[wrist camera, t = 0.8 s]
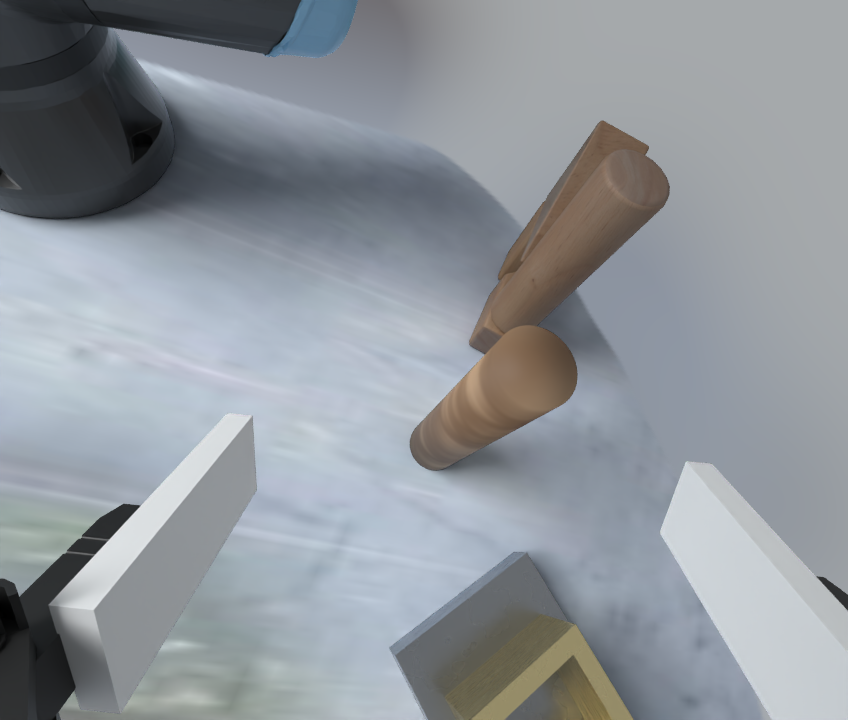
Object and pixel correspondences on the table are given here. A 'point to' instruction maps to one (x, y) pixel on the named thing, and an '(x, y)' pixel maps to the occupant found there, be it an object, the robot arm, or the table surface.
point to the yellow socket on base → (505, 655)
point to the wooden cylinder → (497, 396)
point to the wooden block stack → (574, 231)
